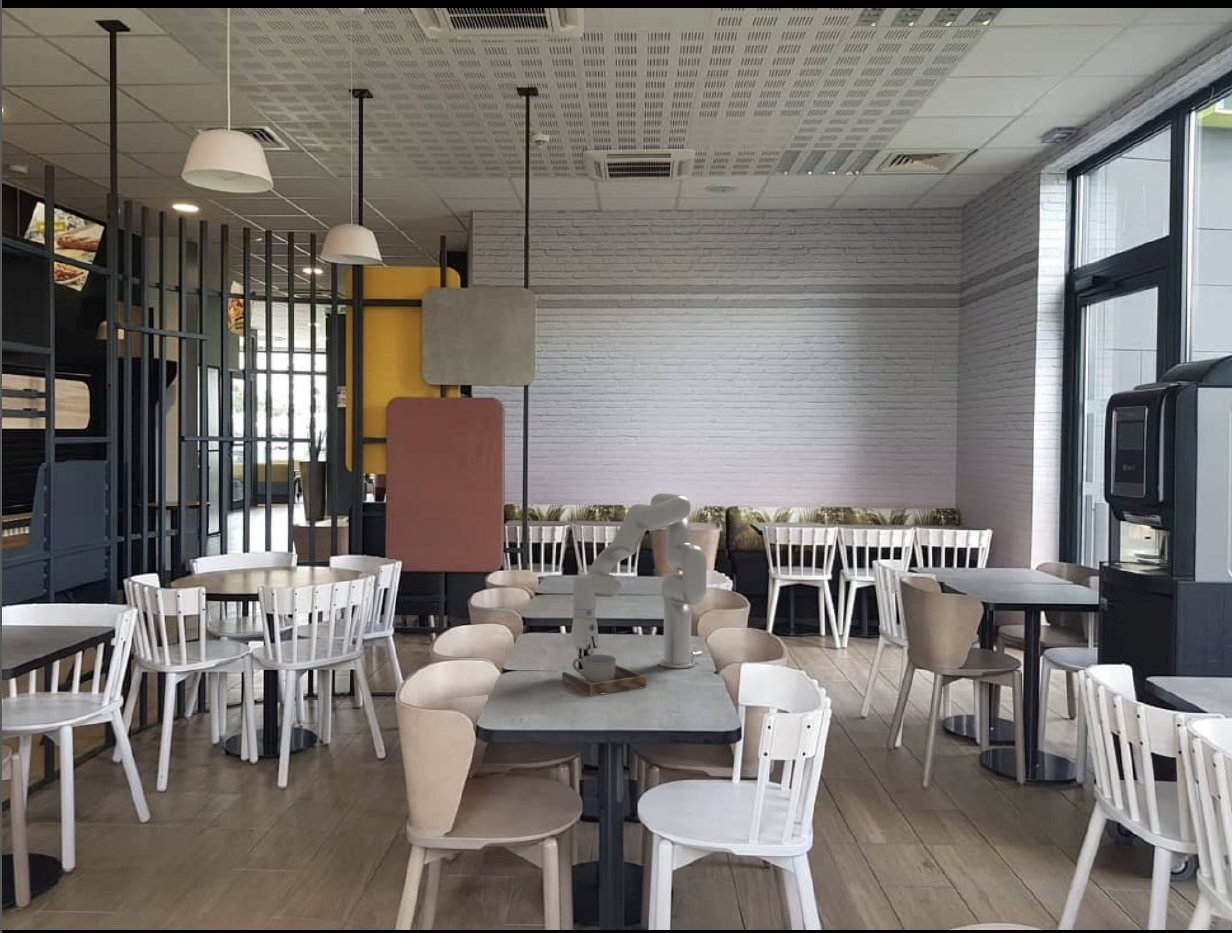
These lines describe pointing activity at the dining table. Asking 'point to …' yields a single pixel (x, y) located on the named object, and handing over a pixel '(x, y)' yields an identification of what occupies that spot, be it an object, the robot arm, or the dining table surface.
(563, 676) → the corral
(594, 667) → the teacup
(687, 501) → the robot arm
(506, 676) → the dining table surface
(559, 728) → the dining table surface
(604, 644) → the dining table surface
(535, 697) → the dining table surface
